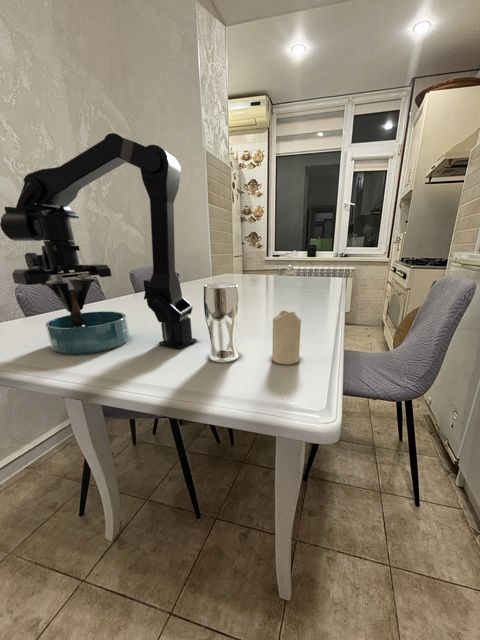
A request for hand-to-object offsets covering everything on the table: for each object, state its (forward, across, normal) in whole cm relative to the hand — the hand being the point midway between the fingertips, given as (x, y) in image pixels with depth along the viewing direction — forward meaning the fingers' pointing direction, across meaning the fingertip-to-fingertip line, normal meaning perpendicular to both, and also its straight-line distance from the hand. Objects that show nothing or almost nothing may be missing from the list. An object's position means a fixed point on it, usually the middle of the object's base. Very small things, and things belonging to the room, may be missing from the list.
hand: (75, 310), depth 69 cm
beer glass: (+8, -8, +38) cm, 39 cm away
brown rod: (+7, 0, 0) cm, 7 cm away
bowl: (+8, 0, +4) cm, 9 cm away
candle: (+8, -13, +50) cm, 52 cm away
